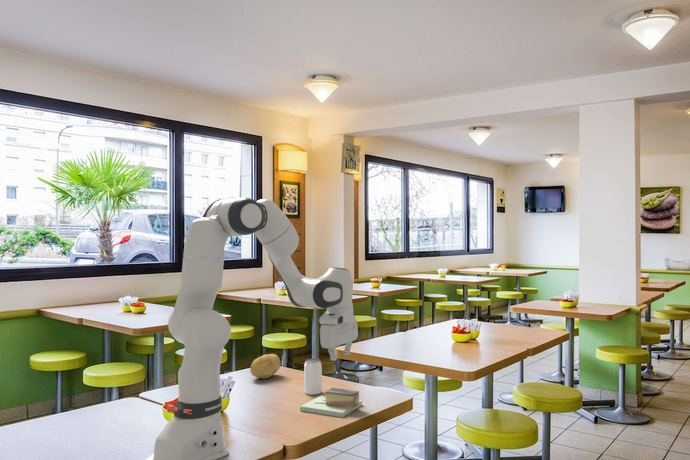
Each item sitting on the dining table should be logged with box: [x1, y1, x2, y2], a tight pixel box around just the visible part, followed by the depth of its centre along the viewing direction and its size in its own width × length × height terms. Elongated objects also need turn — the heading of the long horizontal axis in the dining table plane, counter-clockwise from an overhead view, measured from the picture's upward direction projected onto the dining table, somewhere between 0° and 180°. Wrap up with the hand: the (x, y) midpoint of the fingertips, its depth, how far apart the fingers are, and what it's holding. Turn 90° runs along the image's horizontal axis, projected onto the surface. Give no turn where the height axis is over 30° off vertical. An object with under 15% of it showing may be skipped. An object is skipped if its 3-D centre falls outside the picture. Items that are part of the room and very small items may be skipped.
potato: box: [249, 353, 281, 379], centre depth 229 cm, size 10×14×10 cm
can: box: [303, 358, 323, 396], centre depth 206 cm, size 6×6×12 cm
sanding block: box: [324, 387, 360, 409], centre depth 185 cm, size 5×10×4 cm, turn 62°
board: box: [299, 394, 363, 418], centre depth 187 cm, size 14×16×2 cm
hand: (340, 357), depth 185 cm, fingers open, 8 cm apart
